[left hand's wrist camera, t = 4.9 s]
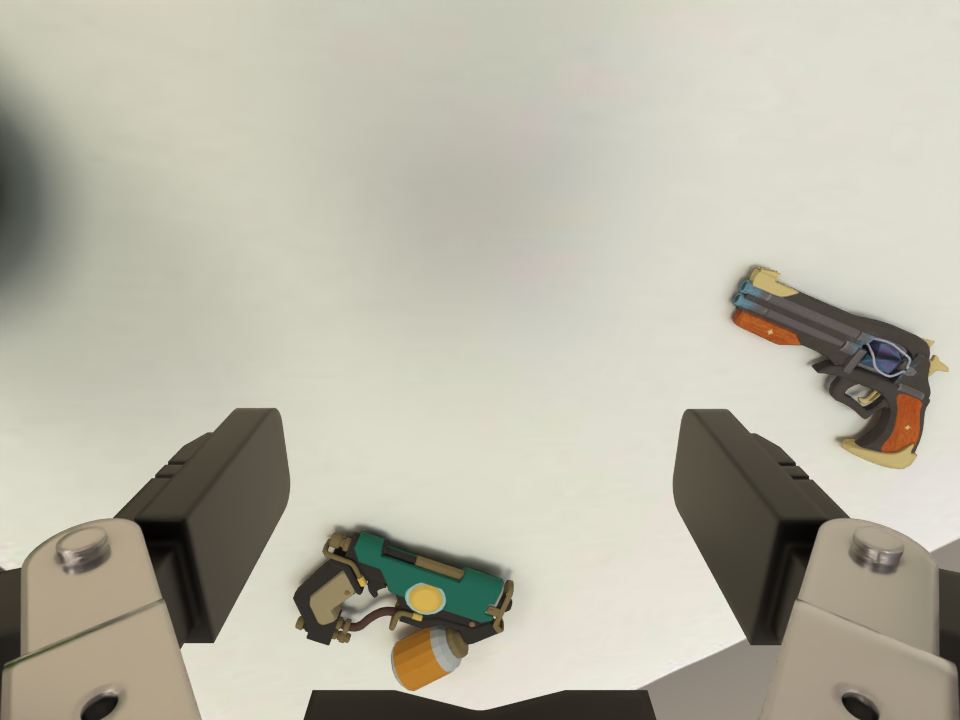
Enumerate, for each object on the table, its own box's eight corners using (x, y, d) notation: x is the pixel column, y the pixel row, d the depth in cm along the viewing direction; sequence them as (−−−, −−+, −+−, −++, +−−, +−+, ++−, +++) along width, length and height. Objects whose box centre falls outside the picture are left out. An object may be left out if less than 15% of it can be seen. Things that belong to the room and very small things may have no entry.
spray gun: (281, 595, 51) (372, 477, 47) (432, 684, 53) (530, 580, 49) (262, 630, 47) (360, 504, 43) (427, 726, 49) (533, 615, 45)
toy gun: (909, 481, 43) (1012, 375, 38) (685, 389, 41) (764, 268, 37) (890, 460, 45) (984, 358, 41) (677, 372, 44) (751, 257, 39)
